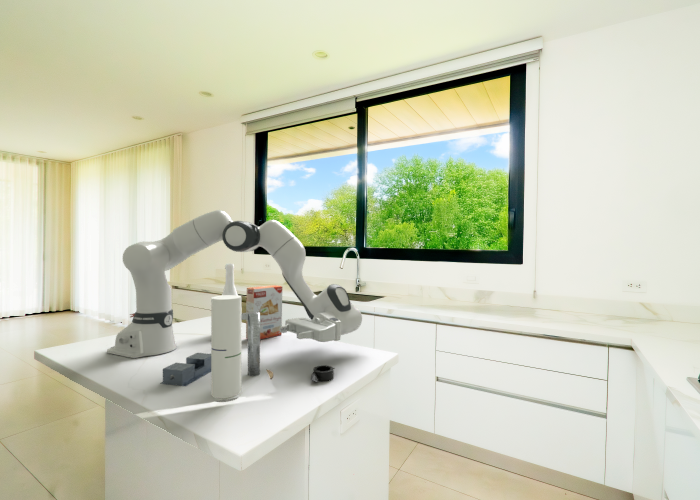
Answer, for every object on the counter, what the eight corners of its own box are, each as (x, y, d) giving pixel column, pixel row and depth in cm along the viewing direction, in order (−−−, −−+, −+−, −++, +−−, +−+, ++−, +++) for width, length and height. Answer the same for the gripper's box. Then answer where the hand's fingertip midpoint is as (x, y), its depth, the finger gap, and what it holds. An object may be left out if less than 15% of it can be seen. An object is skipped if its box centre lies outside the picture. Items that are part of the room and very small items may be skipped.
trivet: (225, 382, 96) (225, 380, 96) (245, 369, 107) (245, 367, 107) (262, 386, 94) (262, 384, 94) (279, 372, 104) (279, 370, 104)
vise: (185, 390, 91) (185, 371, 91) (159, 387, 93) (159, 368, 93) (217, 370, 105) (217, 354, 105) (194, 368, 107) (194, 352, 107)
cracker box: (253, 341, 137) (253, 288, 136) (245, 338, 141) (245, 287, 140) (282, 335, 147) (282, 285, 147) (274, 332, 151) (274, 284, 151)
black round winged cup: (302, 377, 101) (302, 367, 101) (332, 371, 106) (332, 361, 106) (312, 387, 94) (313, 376, 94) (345, 380, 99) (345, 370, 99)
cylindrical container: (216, 390, 91) (216, 295, 91) (244, 389, 92) (244, 295, 91) (207, 402, 84) (207, 299, 84) (237, 401, 85) (237, 299, 84)
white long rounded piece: (227, 330, 153) (227, 262, 153) (246, 332, 150) (246, 263, 150) (212, 336, 144) (212, 264, 144) (231, 338, 141) (231, 264, 141)
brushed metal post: (259, 372, 102) (259, 311, 102) (260, 376, 99) (260, 313, 99) (232, 375, 100) (232, 313, 99) (233, 380, 97) (233, 315, 96)
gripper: (305, 311, 125) (271, 317, 116) (343, 321, 110) (308, 329, 101) (305, 329, 125) (271, 336, 116) (343, 341, 111) (308, 350, 101)
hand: (289, 333), depth 108 cm, fingers open, 8 cm apart
